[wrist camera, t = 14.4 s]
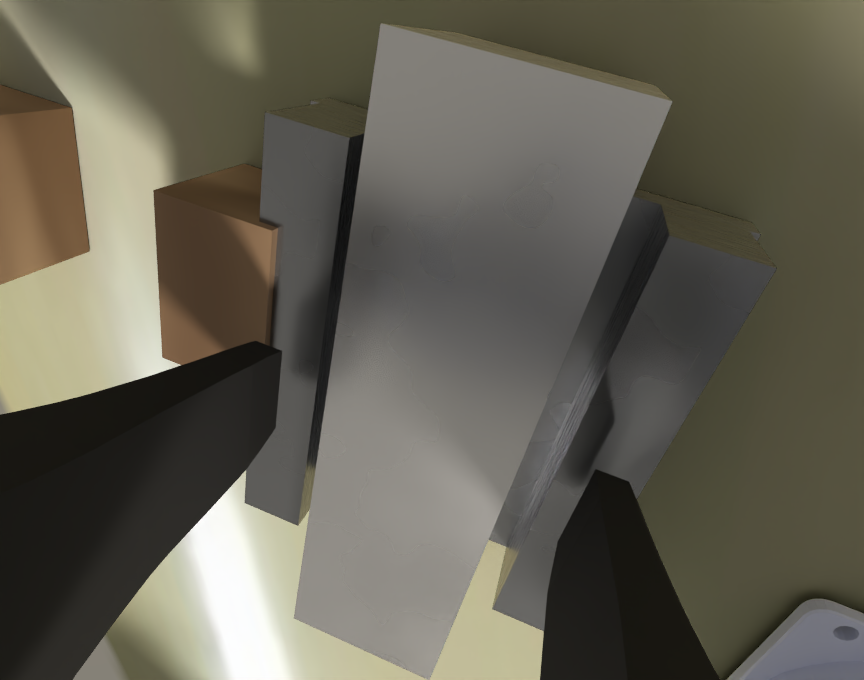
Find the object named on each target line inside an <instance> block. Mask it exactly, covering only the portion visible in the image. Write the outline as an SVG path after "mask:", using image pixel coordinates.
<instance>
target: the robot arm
mask: <svg viewBox="0 0 864 680" xmlns="http://www.w3.org/2000/svg"><path fill="white" fill-rule="evenodd" d="M281 361H282V350H279V349H276V348H274V347H271V346H268V345H266V344H263V343H260V342H258V341H252V342H249V343H246V344H242V345H239V346H236V347H233V348H230V349H227V350H224V351H221V352H219V353H216V354H213V355H210V356H207V357H204V358H201V359H199V360H196V361H193V362H190V363H187V364H184V365H181V366H178V367H175V368H172V369H169V370H166V371H163V372H161V373H158V374H155V375H152V376H148V377H145V378H142V379H138V380H135V381H132V382H128V383H125V384H122V385H118V386H115V387H112V388H108V389H105V390H102V391H98V392H95V393H92V394H88V395H84V396H81V397H77V398H73V399H69V400H65V401H61V402H57V403H53V404H48V405H44V406H39V407H35V408H30V409H26V410H21V411H17V412H12V413H7V414H2V415H0V680H73V678H74V677H75V675H76V673H77V672H78V671H79V670H80V668H81V667H82V666H83V664H84V663H85V661H86V660H87V658H88V657H89V656H90V655H91V653H92V652H93V650H94V649H95V648H96V646H97V645H98V644H99V642H100V641H101V640H102V638H103V637H104V635H105V634H106V633H107V631H108V630H109V629H110V627H111V626H112V624H113V623H114V622H115V620H116V619H117V618H118V616H119V615H120V614H121V613H122V611H123V610H124V609H125V607H126V606H127V605H128V603H129V602H130V601H131V600H132V598H133V597H134V596H135V594H136V593H137V592H138V590H139V589H140V588H141V586H142V585H143V584H144V583H145V581H146V580H147V579H148V577H149V576H150V575H151V574H152V572H153V571H154V570H155V569H156V568H157V567H158V565H159V564H160V563H161V562H162V561H163V560H164V558H165V557H166V556H167V555H168V554H169V553H170V552H171V551H172V549H173V548H174V547H175V546H176V545H177V544H178V543H179V542H180V541H181V540H182V539H183V538H184V537H185V535H186V534H187V533H188V532H189V531H190V530H191V529H192V528H193V527H194V526H195V525H196V524H197V523H198V521H199V520H200V519H201V518H202V517H203V516H204V515H205V514H206V513H207V512H208V511H209V510H210V509H211V507H212V506H213V505H214V504H215V503H216V502H217V501H218V500H219V499H220V498H221V497H222V496H223V494H224V493H225V492H226V491H227V490H228V489H229V488H230V487H231V486H232V485H233V483H234V482H235V481H236V480H237V479H238V478H239V477H240V476H241V475H242V474H243V472H244V471H245V470H246V469H247V468H248V467H249V465H250V464H251V462H252V461H253V460H254V458H255V457H256V456H257V454H258V453H259V452H260V450H261V449H262V447H263V446H264V444H265V443H266V441H267V440H268V438H269V437H270V436H271V434H272V433H273V431H274V430H275V428H276V418H277V407H278V395H279V384H280V372H281ZM540 680H720V679H719V677H718V675H717V673H716V671H715V670H714V668H713V666H712V664H711V662H710V661H709V659H708V657H707V655H706V653H705V651H704V649H703V647H702V645H701V643H700V641H699V639H698V637H697V635H696V633H695V631H694V629H693V628H692V626H691V624H690V622H689V619H688V617H687V615H686V613H685V611H684V609H683V607H682V605H681V603H680V601H679V598H678V596H677V594H676V592H675V590H674V587H673V585H672V583H671V581H670V579H669V576H668V574H667V572H666V570H665V568H664V565H663V563H662V561H661V558H660V556H659V554H658V551H657V549H656V547H655V544H654V542H653V539H652V537H651V534H650V532H649V529H648V527H647V524H646V522H645V519H644V517H643V514H642V512H641V509H640V507H639V504H638V502H637V499H636V497H635V494H634V492H633V489H632V487H631V485H630V483H629V481H626V480H624V479H621V478H618V477H616V476H613V475H610V474H608V473H605V472H602V471H600V470H597V469H595V471H594V473H593V475H592V477H591V479H590V481H589V483H588V485H587V486H586V488H585V490H584V492H583V494H582V496H581V498H580V500H579V502H578V504H577V506H576V507H575V509H574V511H573V513H572V515H571V517H570V519H569V521H568V523H567V525H566V526H565V528H564V530H563V532H562V534H561V536H560V538H559V540H558V542H557V547H556V552H555V557H554V561H553V566H552V571H551V576H550V581H549V587H548V592H547V602H546V613H545V625H544V637H543V650H542V663H541V676H540ZM727 680H864V613H861V612H859V611H856V610H854V609H851V608H849V607H846V606H843V605H841V604H838V603H836V602H833V601H830V600H826V599H811V600H807V601H805V602H804V603H802V604H800V605H799V606H798V607H797V608H796V609H795V610H794V612H793V613H792V614H791V615H790V616H789V617H788V618H787V619H786V620H785V621H784V622H783V623H782V624H781V625H780V626H779V627H778V628H777V629H776V630H775V631H774V632H773V633H772V634H771V635H770V636H769V637H768V638H767V639H766V640H765V641H764V642H763V643H762V644H761V645H760V646H759V647H758V648H757V649H756V650H755V651H754V652H753V653H752V654H751V655H750V656H749V657H748V658H747V659H746V660H745V661H744V662H743V663H742V664H741V665H740V666H739V667H738V668H737V669H736V670H735V671H734V672H733V673H732V674H731V676H730V677H729V678H728V679H727Z"/></svg>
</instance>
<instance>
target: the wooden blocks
mask: <svg viewBox="0 0 864 680" xmlns="http://www.w3.org/2000/svg"><path fill="white" fill-rule="evenodd" d="M261 181H262V169H259V168H256V167H253V166H250V165H247V164H241V165H238V166H234V167H231V168H228V169H224V170H221V171H218V172H214V173H211V174H207V175H204V176H201V177H197V178H194V179H190V180H187V181H184V182H180V183H177V184H173V185H170V186H167V187H163V188H160V189H156V190H154V208H155V227H156V245H157V264H158V283H159V301H160V320H161V338H162V357H163V358H165V359H168V360H170V361H173V362H175V363H178V364H180V365H184V364H187V363H190V362H193V361H196V360H199V359H201V358H204V357H207V356H210V355H213V354H216V353H219V352H221V351H224V350H227V349H230V348H233V347H236V346H239V345H242V344H246V343H249V342H252V341H258V342H260V343H263V344H266V345H268V346H270V332H271V318H272V304H273V290H274V276H275V262H276V248H277V234H278V228H277V227H274V226H271V225H268V224H265V223H262V222H259V219H260V200H261ZM86 252H89V242H88V234H87V226H86V218H85V210H84V202H83V194H82V186H81V178H80V170H79V162H78V154H77V146H76V138H75V130H74V122H73V114H72V108H71V107H68V106H64V105H61V104H58V103H55V102H52V101H49V100H46V99H43V98H40V97H37V96H33V95H30V94H27V93H24V92H21V91H18V90H15V89H12V88H9V87H6V86H3V85H0V285H1V284H3V283H6V282H9V281H11V280H14V279H17V278H19V277H22V276H25V275H27V274H30V273H33V272H35V271H38V270H41V269H43V268H46V267H49V266H51V265H54V264H57V263H59V262H62V261H65V260H67V259H70V258H73V257H76V256H78V255H81V254H84V253H86Z"/></svg>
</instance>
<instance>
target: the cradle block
mask: <svg viewBox="0 0 864 680" xmlns="http://www.w3.org/2000/svg"><path fill="white" fill-rule="evenodd" d="M367 114H368V109H365V108H362V107H358V106H355V105H352V104H348V103H345V102H341V101H338V100H335V99H331V98H324V99H317V100H311V104H310V105H305V106H299V107H293V108H287V109H281V110H276V111H270V112H265V123H264V142H263V161H262V181H261V200H260V219H259V222H262V223H265V224H268V225H271V226H274V227H277V228H278V234H277V248H276V262H275V276H274V290H273V304H272V318H271V332H270V346H271V347H274V348H276V349H279V350H282V361H281V372H280V384H279V395H278V407H277V418H276V428H275V430H274V431H273V433H272V434H271V436H270V437H269V438H268V440H267V441H266V443H265V444H264V446H263V447H262V449H261V450H260V452H259V453H258V454H257V456H256V457H255V458H254V460H253V461H252V462H251V464H250V465H249V467H248V468H247V469H246V488H245V503H246V504H249V505H251V506H253V507H256V508H258V509H260V510H263V511H265V512H267V513H270V514H272V515H274V516H277V517H279V518H281V519H284V520H286V521H288V522H291V523H293V524H295V525H299V524H300V522H301V521H302V519H303V518H304V516H305V515H306V513H307V512H308V511H309V509H310V505H311V498H312V491H313V484H314V477H315V470H316V463H317V457H318V450H319V443H320V436H321V429H322V422H323V415H324V409H325V402H326V395H327V388H328V381H329V374H330V367H331V361H332V354H333V347H334V340H335V333H336V326H337V319H338V313H339V306H340V299H341V292H342V285H343V278H344V271H345V265H346V258H347V251H348V244H349V237H350V230H351V223H352V217H353V210H354V203H355V196H356V189H357V182H358V175H359V169H360V162H361V155H362V148H363V141H364V134H365V127H366V121H367ZM760 235H761V234H760V232H759V231H758V230H757V229H756V227H755V226H754V225H753V223H752V222H748V221H745V220H741V219H738V218H735V217H731V216H728V215H725V214H721V213H718V212H714V211H711V210H708V209H704V208H701V207H697V206H694V205H691V204H687V203H684V202H680V201H677V200H674V199H670V198H667V197H663V196H660V195H657V194H653V193H650V192H647V191H643V190H640V189H636V190H635V192H634V195H633V197H632V199H631V202H630V204H629V206H628V209H627V211H626V214H625V216H624V218H623V221H622V223H621V226H620V228H619V230H618V233H617V235H616V237H615V240H614V242H613V245H612V247H611V249H610V252H609V254H608V256H607V259H606V261H605V264H604V266H603V268H602V271H601V273H600V275H599V278H598V280H597V283H596V285H595V287H594V290H593V292H592V294H591V297H590V299H589V302H588V304H587V306H586V309H585V311H584V314H583V316H582V318H581V321H580V323H579V325H578V328H577V330H576V333H575V335H574V337H573V340H572V342H571V344H570V347H569V349H568V352H567V354H566V356H565V359H564V361H563V363H562V366H561V368H560V371H559V373H558V375H557V378H556V380H555V382H554V385H553V387H552V390H551V392H550V394H549V397H548V399H547V402H546V404H545V406H544V409H543V411H542V413H541V416H540V418H539V421H538V423H537V425H536V428H535V430H534V432H533V435H532V437H531V440H530V442H529V444H528V447H527V449H526V451H525V454H524V456H523V459H522V461H521V463H520V466H519V468H518V470H517V473H516V475H515V478H514V480H513V482H512V485H511V487H510V490H509V492H508V494H507V497H506V499H505V501H504V504H503V506H502V509H501V511H500V513H499V516H498V518H497V520H496V523H495V525H494V528H493V530H492V532H491V535H490V537H489V540H491V541H493V542H496V543H498V544H501V545H503V546H506V551H505V556H504V560H503V564H502V569H501V573H500V577H499V582H498V586H497V590H496V595H495V599H494V603H493V608H492V609H494V610H496V611H498V612H501V613H503V614H505V615H508V616H510V617H512V618H514V619H517V620H519V621H521V622H524V623H526V624H528V625H531V626H533V627H535V628H538V629H540V630H542V631H544V625H545V613H546V602H547V592H548V587H549V581H550V576H551V571H552V566H553V561H554V557H555V552H556V547H557V542H558V540H559V538H560V536H561V534H562V532H563V530H564V528H565V526H566V525H567V523H568V521H569V519H570V517H571V515H572V513H573V511H574V509H575V507H576V506H577V504H578V502H579V500H580V498H581V496H582V494H583V492H584V490H585V488H586V486H587V485H588V483H589V481H590V479H591V477H592V475H593V473H594V471H595V469H597V470H600V471H602V472H605V473H608V474H610V475H613V476H616V477H618V478H621V479H624V480H626V481H629V483H630V485H631V487H632V489H633V492H634V494H635V497H636V499H637V498H638V497H639V495H640V493H641V492H642V490H643V488H644V487H645V485H646V483H647V482H648V480H649V478H650V477H651V475H652V474H653V472H654V470H655V469H656V467H657V465H658V464H659V462H660V460H661V459H662V457H663V455H664V454H665V452H666V450H667V449H668V447H669V445H670V444H671V442H672V441H673V439H674V437H675V436H676V434H677V432H678V431H679V429H680V427H681V426H682V424H683V422H684V421H685V419H686V417H687V416H688V414H689V413H690V411H691V409H692V408H693V406H694V404H695V403H696V401H697V399H698V398H699V396H700V394H701V393H702V391H703V389H704V388H705V386H706V384H707V383H708V381H709V380H710V378H711V376H712V375H713V373H714V371H715V370H716V368H717V366H718V365H719V363H720V361H721V360H722V358H723V356H724V355H725V353H726V352H727V350H728V348H729V347H730V345H731V343H732V342H733V340H734V338H735V337H736V335H737V333H738V332H739V330H740V328H741V327H742V325H743V323H744V322H745V320H746V319H747V317H748V315H749V314H750V312H751V310H752V309H753V307H754V305H755V304H756V302H757V300H758V299H759V297H760V295H761V294H762V292H763V291H764V289H765V287H766V286H767V284H768V282H769V281H770V279H771V277H772V276H773V274H774V272H775V271H776V269H777V268H776V267H775V265H774V264H773V262H772V261H771V260H770V258H769V257H768V256H767V254H766V253H765V251H764V250H763V249H762V247H761V246H760V245H759V243H758V242H757V241H758V239H759V237H760Z"/></svg>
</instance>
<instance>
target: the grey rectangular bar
mask: <svg viewBox="0 0 864 680" xmlns="http://www.w3.org/2000/svg"><path fill="white" fill-rule="evenodd" d="M672 102H673V101H672V100H671V99H670V98H668V97H667V96H666V95H665V94H664V93H663V92H662V91H661V90H660V89H659V88H658V87H657V86H655V85H652V84H649V83H645V82H641V81H637V80H633V79H630V78H626V77H622V76H618V75H615V74H611V73H607V72H603V71H599V70H596V69H592V68H588V67H584V66H581V65H577V64H573V63H569V62H565V61H562V60H558V59H554V58H550V57H547V56H543V55H539V54H535V53H531V52H528V51H524V50H520V49H516V48H513V47H509V46H505V45H501V44H498V43H494V42H490V41H486V40H482V39H479V38H475V37H471V36H467V35H464V34H460V33H456V32H448V31H440V30H432V29H424V28H416V27H408V26H400V25H392V24H384V23H381V25H380V31H379V38H378V45H377V52H376V59H375V66H374V73H373V79H372V86H371V93H370V100H369V107H368V114H367V121H366V127H365V134H364V141H363V148H362V155H361V162H360V169H359V175H358V182H357V189H356V196H355V203H354V210H353V217H352V223H351V230H350V237H349V244H348V251H347V258H346V265H345V271H344V278H343V285H342V292H341V299H340V306H339V313H338V319H337V326H336V333H335V340H334V347H333V354H332V361H331V367H330V374H329V381H328V388H327V395H326V402H325V409H324V415H323V422H322V429H321V436H320V443H319V450H318V457H317V463H316V470H315V477H314V484H313V491H312V498H311V505H310V511H309V518H308V525H307V532H306V539H305V546H304V553H303V559H302V566H301V573H300V580H299V587H298V594H297V601H296V607H295V614H294V618H295V619H297V620H299V621H301V622H303V623H306V624H308V625H310V626H312V627H314V628H316V629H319V630H321V631H323V632H325V633H327V634H330V635H332V636H334V637H336V638H338V639H340V640H343V641H345V642H347V643H349V644H351V645H354V646H356V647H358V648H360V649H362V650H365V651H367V652H369V653H371V654H373V655H375V656H378V657H380V658H382V659H384V660H386V661H389V662H391V663H393V664H395V665H397V666H399V667H402V668H404V669H406V670H408V671H410V672H413V673H415V674H417V675H419V676H421V677H424V678H426V679H428V680H430V677H431V675H432V673H433V670H434V668H435V666H436V663H437V661H438V658H439V656H440V654H441V651H442V649H443V646H444V644H445V642H446V639H447V637H448V635H449V632H450V630H451V627H452V625H453V623H454V620H455V618H456V616H457V613H458V611H459V608H460V606H461V604H462V601H463V599H464V597H465V594H466V592H467V589H468V587H469V585H470V582H471V580H472V578H473V575H474V573H475V570H476V568H477V566H478V563H479V561H480V558H481V556H482V554H483V551H484V549H485V547H486V544H487V542H488V539H489V537H490V535H491V532H492V530H493V528H494V525H495V523H496V520H497V518H498V516H499V513H500V511H501V509H502V506H503V504H504V501H505V499H506V497H507V494H508V492H509V490H510V487H511V485H512V482H513V480H514V478H515V475H516V473H517V470H518V468H519V466H520V463H521V461H522V459H523V456H524V454H525V451H526V449H527V447H528V444H529V442H530V440H531V437H532V435H533V432H534V430H535V428H536V425H537V423H538V421H539V418H540V416H541V413H542V411H543V409H544V406H545V404H546V402H547V399H548V397H549V394H550V392H551V390H552V387H553V385H554V382H555V380H556V378H557V375H558V373H559V371H560V368H561V366H562V363H563V361H564V359H565V356H566V354H567V352H568V349H569V347H570V344H571V342H572V340H573V337H574V335H575V333H576V330H577V328H578V325H579V323H580V321H581V318H582V316H583V314H584V311H585V309H586V306H587V304H588V302H589V299H590V297H591V294H592V292H593V290H594V287H595V285H596V283H597V280H598V278H599V275H600V273H601V271H602V268H603V266H604V264H605V261H606V259H607V256H608V254H609V252H610V249H611V247H612V245H613V242H614V240H615V237H616V235H617V233H618V230H619V228H620V226H621V223H622V221H623V218H624V216H625V214H626V211H627V209H628V206H629V204H630V202H631V199H632V197H633V195H634V192H635V190H636V187H637V185H638V183H639V180H640V178H641V176H642V173H643V171H644V168H645V166H646V164H647V161H648V159H649V157H650V154H651V152H652V149H653V147H654V145H655V142H656V140H657V138H658V135H659V133H660V130H661V128H662V126H663V123H664V121H665V118H666V116H667V114H668V111H669V109H670V107H671V104H672Z"/></svg>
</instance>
